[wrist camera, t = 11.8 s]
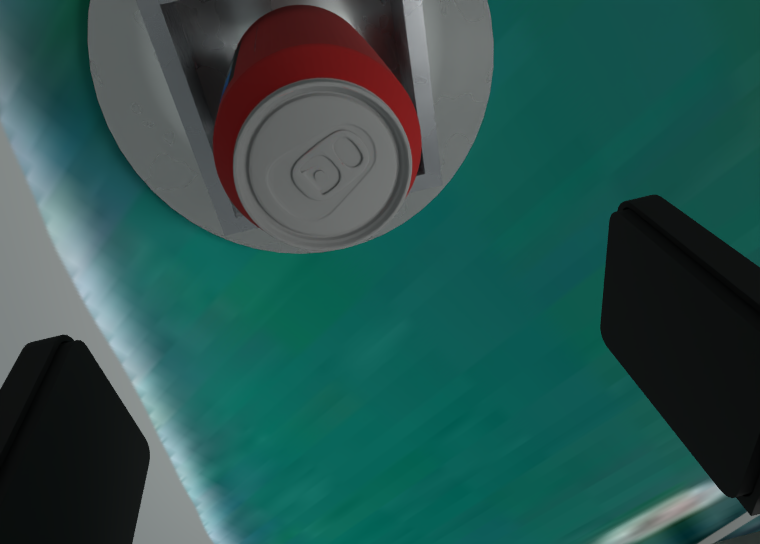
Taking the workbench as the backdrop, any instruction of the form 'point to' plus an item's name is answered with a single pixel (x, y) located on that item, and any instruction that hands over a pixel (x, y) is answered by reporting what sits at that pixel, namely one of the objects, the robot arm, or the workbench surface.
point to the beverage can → (314, 131)
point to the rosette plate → (209, 72)
